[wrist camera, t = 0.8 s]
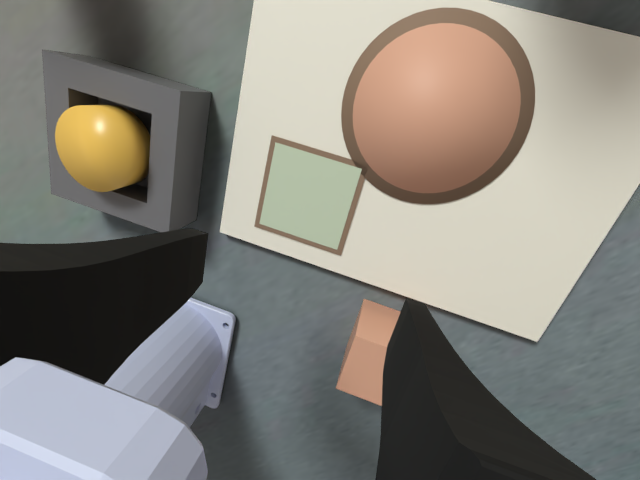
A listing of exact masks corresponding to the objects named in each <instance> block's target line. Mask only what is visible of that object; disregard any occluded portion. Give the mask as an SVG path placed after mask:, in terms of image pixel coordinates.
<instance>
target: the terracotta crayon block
mask: <svg viewBox="0 0 640 480" xmlns="http://www.w3.org/2000/svg"><path fill="white" fill-rule="evenodd" d="M399 315H400V311H397V310H394V309H391V308H389V307H386V306H383V305H380V304H377V303H374V302H372V301H369V300H366V299H364V300H363V303H362V306H361V308H360V311H359V314H358V317H357V319H356V322H355V325H354V328H353V330H352V333H351V336H350V339H349V341H348V344H347V347H346V351H345V355H344V358H343V362H342V366H341V370H340V374H339V378H338V382H337V385H336V389H339V390H341V391H344V392H346V393H349V394H352V395H354V396H357V397H359V398H362V399H365V400H367V401H370V402H372V403H375V404H378V405H380V406H382V383H383V368H384V362H385V356H386V350H387V345H388V343H389V340H390V338H391V335H392V333H393V330H394V328H395V325H396V323H397V320H398V318H399Z"/></svg>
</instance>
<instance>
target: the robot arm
mask: <svg viewBox="0 0 640 480" xmlns="http://www.w3.org/2000/svg"><path fill="white" fill-rule="evenodd" d="M207 239H208V233H205V232H202V231H199V230H195V229H180V230H173V231H167V232H161V233H155V234H149V235H143V236H137V237H130V238H123V239H115V240H108V241H99V242H87V243H71V244H13V243H0V480H207V474H208V469H207V464H206V458H205V453H204V448H203V446H202V443H201V442H200V441H199V439H198V438H197V437H196V435H195V434H194V433H193V432H192V430H191V429H190V426H191V425H192V423H193V422H194V421H195V419H196V418H197V416H198V415H199V413H200V412H201V410H202V409H203V407H204V406H208V407H210V408H217V407H218V405H219V404H220V399H221V394H222V389H223V384H224V378H225V373H226V368H227V363H228V357H229V352H230V347H231V342H232V336H233V331H234V326H235V321H236V319H235V316H234V315H233V314H232V313H231V312H228V311H225V310H223V309H220V308H217V307H215V306H212V305H209V304H207V303H204V302H201V301H199V300H196V299H193V298H190V297H191V296H192V295H193V294H194V293H195V291H196V290H197V289H198V287H199V286H200V285H201V284H202V282H203V274H204V265H205V256H206V247H207ZM225 323H227V324H228V325H229V326H227V325H226V324H225ZM376 480H596V479H595V478H593V477H592V476H591V475H589V474H588V473H586V472H585V471H584V470H582V469H581V468H579V467H578V466H577V465H575V464H574V463H573V462H571V461H570V460H568V459H567V458H566V457H564V456H563V455H561V454H560V453H559V452H557V451H556V450H555V449H553V448H552V447H551V446H550V445H548V444H547V443H546V442H545V441H543V440H542V439H541V438H540V437H538V436H537V435H536V434H535V433H534V432H532V431H531V430H530V429H529V428H528V427H526V426H525V425H524V424H523V423H522V422H521V421H519V420H518V419H517V418H516V417H515V416H514V415H513V414H512V413H511V412H510V411H509V410H508V409H506V408H505V407H504V406H503V405H502V404H501V403H500V402H499V401H498V400H497V399H496V398H495V397H494V396H493V395H492V394H491V393H490V392H489V391H488V390H487V389H486V388H485V387H484V385H483V384H482V383H481V382H480V381H479V380H478V379H477V378H476V377H475V375H474V374H473V373H472V372H471V371H470V370H469V368H468V367H467V366H466V365H465V363H464V362H463V361H462V359H461V358H460V357H459V355H458V354H457V353H456V352H455V350H454V349H453V347H452V346H451V344H450V343H449V342H448V340H447V339H446V337H445V336H444V334H443V333H442V331H441V329H440V328H439V326H438V325H437V323H436V322H435V320H434V318H433V317H432V315H431V313H430V312H429V310H428V309H427V307H426V306H425V304H423V303H420V302H417V301H414V300H411V299H407V298H406V300H405V302H404V305H403V307H402V310H401V312H400V315H399V318H398V320H397V323H396V325H395V328H394V330H393V333H392V335H391V338H390V340H389V343H388V345H387V350H386V356H385V362H384V368H383V383H382V416H381V440H380V451H379V459H378V466H377V473H376Z"/></svg>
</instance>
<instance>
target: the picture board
mask: <svg viewBox="0 0 640 480" xmlns="http://www.w3.org/2000/svg"><path fill="white" fill-rule="evenodd" d="M639 184H640V37H638V36H634V35H630V34H626V33H621V32H617V31H613V30H609V29H605V28H601V27H596V26H592V25H588V24H584V23H580V22H576V21H572V20H567V19H563V18H559V17H555V16H551V15H547V14H542V13H538V12H534V11H530V10H526V9H522V8H517V7H513V6H509V5H505V4H501V3H497V2H492V1H488V0H254V5H253V11H252V18H251V25H250V32H249V38H248V45H247V52H246V58H245V65H244V72H243V79H242V85H241V92H240V99H239V106H238V112H237V119H236V126H235V133H234V139H233V146H232V153H231V159H230V166H229V173H228V180H227V186H226V193H225V200H224V207H223V213H222V220H221V227H220V232H221V233H224V234H227V235H230V236H232V237H235V238H238V239H241V240H244V241H247V242H250V243H253V244H256V245H258V246H261V247H264V248H267V249H270V250H273V251H276V252H279V253H282V254H285V255H287V256H290V257H293V258H296V259H299V260H302V261H305V262H308V263H311V264H313V265H316V266H319V267H322V268H325V269H328V270H331V271H334V272H337V273H339V274H342V275H345V276H348V277H351V278H354V279H357V280H360V281H363V282H365V283H368V284H371V285H374V286H377V287H380V288H383V289H386V290H389V291H392V292H394V293H397V294H400V295H403V296H406V297H409V298H412V299H415V300H418V301H420V302H423V303H426V304H429V305H432V306H435V307H438V308H441V309H444V310H446V311H449V312H452V313H455V314H458V315H461V316H464V317H467V318H470V319H473V320H475V321H478V322H481V323H484V324H487V325H490V326H493V327H496V328H499V329H501V330H504V331H507V332H510V333H513V334H516V335H519V336H522V337H525V338H527V339H530V340H533V341H536V342H538V340H539V339H540V337H541V336H542V334H543V333H544V331H545V329H546V328H547V326H548V325H549V323H550V322H551V320H552V319H553V317H554V316H555V314H556V312H557V311H558V309H559V308H560V306H561V305H562V303H563V302H564V300H565V298H566V297H567V295H568V294H569V292H570V291H571V289H572V288H573V286H574V285H575V283H576V281H577V280H578V278H579V277H580V275H581V274H582V272H583V271H584V269H585V268H586V266H587V264H588V263H589V261H590V260H591V258H592V257H593V255H594V254H595V252H596V250H597V249H598V247H599V246H600V244H601V243H602V241H603V240H604V238H605V237H606V235H607V233H608V232H609V230H610V229H611V227H612V226H613V224H614V223H615V221H616V220H617V218H618V216H619V215H620V213H621V212H622V210H623V209H624V207H625V206H626V204H627V202H628V201H629V199H630V198H631V196H632V195H633V193H634V192H635V190H636V189H637V187H638V185H639Z"/></svg>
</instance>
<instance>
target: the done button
mask: <svg viewBox="0 0 640 480" xmlns="http://www.w3.org/2000/svg"><path fill="white" fill-rule="evenodd" d="M150 138H151V137H150V134H149V132H148V130H147V128H146V127H145V125H144V124H143V122H142V121H141V120H140V119H139V118H138V117H137V116H136V115H135V114H134V113H132V112H131V111H130V110H128V109H126V108H124V107H121V106H117V105H79V106H73V107H71V108H69V109H67V110H66V111H64V112H63V114H62V115H61V116H60V118H59V120H58V122H57V125H56V130H55V142H56V148H57V151H58V155H59V157H60V159H61V161H62V163H63V165H64V167H65V168H66V170H67V171H68V173H69V174H70V175H71V176H72V177H73V178H74V179H75V180H76V181H77V182H78V183H80V184H81V185H82V186H84V187H86V188H88V189H90V190H93V191H97V192H108V191H112V190H115V189H119V188H122V187H125V186H129V185H132V184H135V183H138V182H140V181H142V180H143V179H144V178H146V177H147V175H148V174H149V157H150Z"/></svg>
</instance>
